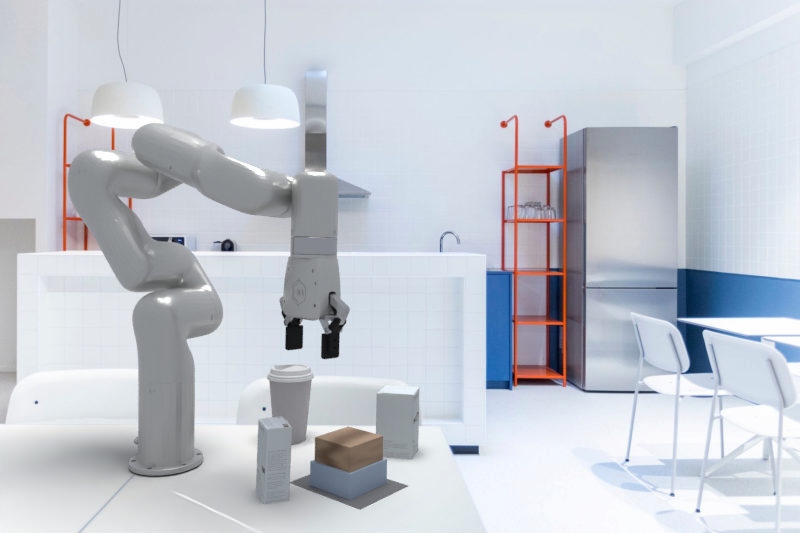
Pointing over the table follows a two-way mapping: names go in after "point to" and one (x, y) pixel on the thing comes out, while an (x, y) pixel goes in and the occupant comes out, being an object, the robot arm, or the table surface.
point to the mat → (360, 500)
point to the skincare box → (273, 459)
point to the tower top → (348, 449)
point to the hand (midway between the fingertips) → (311, 353)
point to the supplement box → (398, 420)
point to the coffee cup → (291, 396)
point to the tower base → (348, 478)
